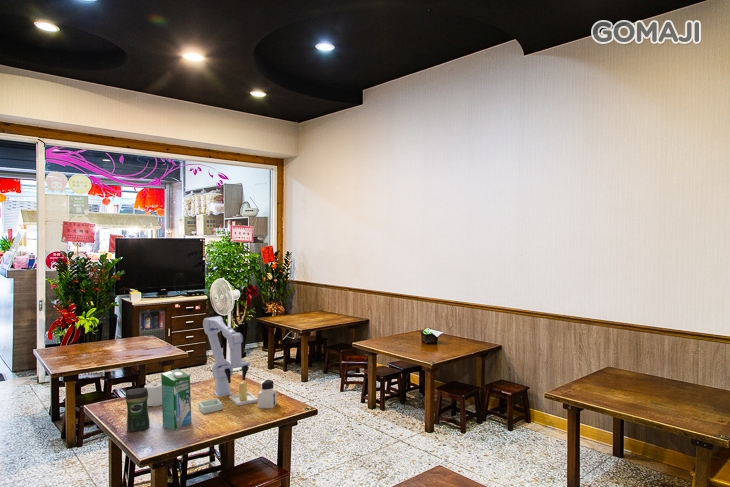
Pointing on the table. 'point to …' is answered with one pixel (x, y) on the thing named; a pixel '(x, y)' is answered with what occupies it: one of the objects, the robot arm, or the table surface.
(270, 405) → the container
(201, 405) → the square storage bin
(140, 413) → the coffee jar
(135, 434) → the table surface
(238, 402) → the tray
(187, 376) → the milk carton
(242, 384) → the peg
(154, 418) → the table surface
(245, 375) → the robot arm
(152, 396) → the toilet tissue
